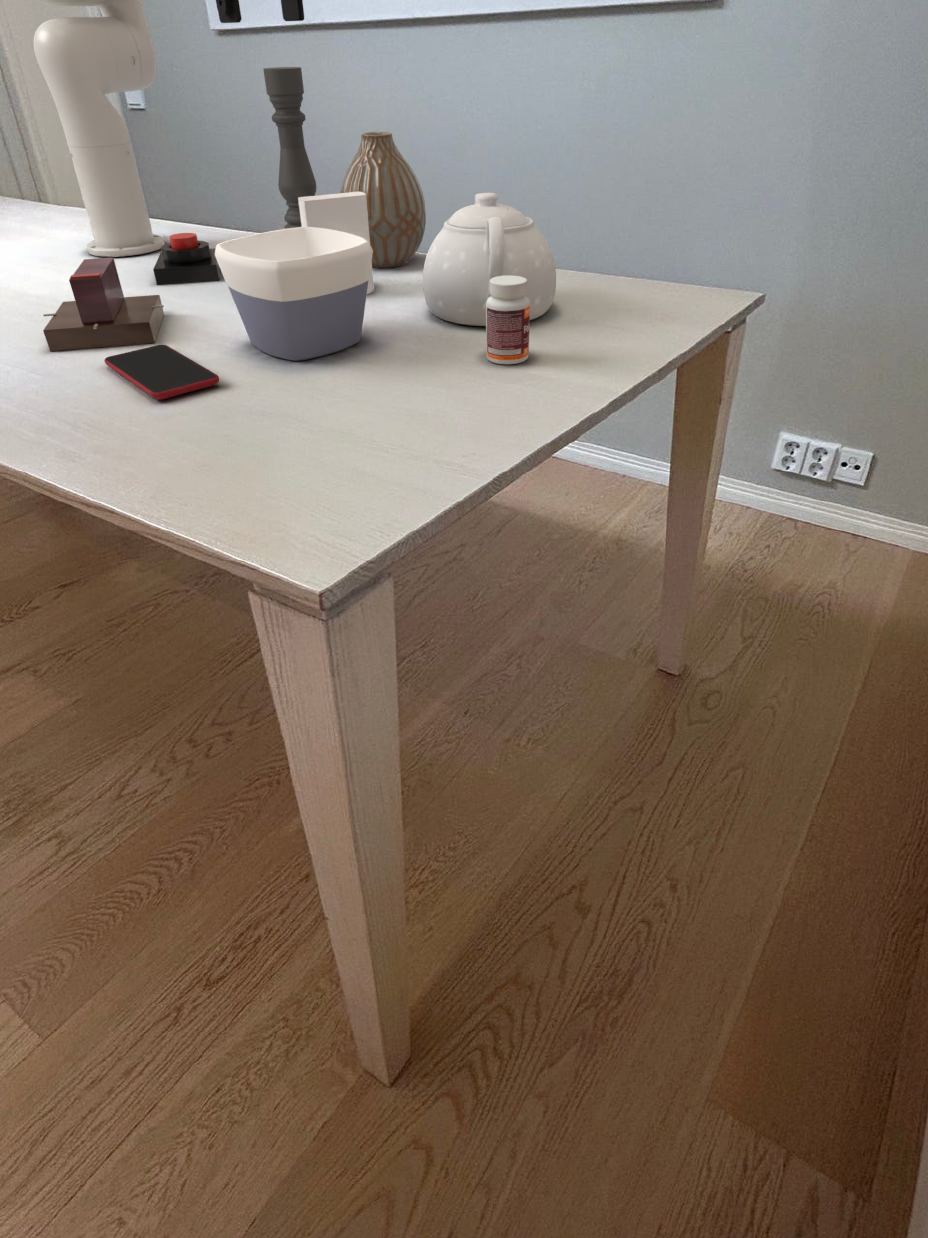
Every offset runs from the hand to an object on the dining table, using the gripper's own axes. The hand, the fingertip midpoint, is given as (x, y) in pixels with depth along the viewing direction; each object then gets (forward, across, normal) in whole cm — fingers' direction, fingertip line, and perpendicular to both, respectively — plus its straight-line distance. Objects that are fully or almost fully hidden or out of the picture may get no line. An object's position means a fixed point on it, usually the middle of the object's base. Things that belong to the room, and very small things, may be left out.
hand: (263, 21), depth 94 cm
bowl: (+31, +15, +17) cm, 39 cm away
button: (+27, +3, -22) cm, 35 cm away
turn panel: (+31, +26, -7) cm, 41 cm away
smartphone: (+31, +32, +12) cm, 46 cm away
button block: (+31, +2, -22) cm, 38 cm away
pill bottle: (+31, +6, +40) cm, 51 cm away
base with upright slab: (+31, -4, +4) cm, 31 cm away
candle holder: (+31, -19, -19) cm, 41 cm away
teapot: (+31, -8, +28) cm, 42 cm away
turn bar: (+28, +26, -7) cm, 39 cm away
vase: (+31, -19, -1) cm, 36 cm away
